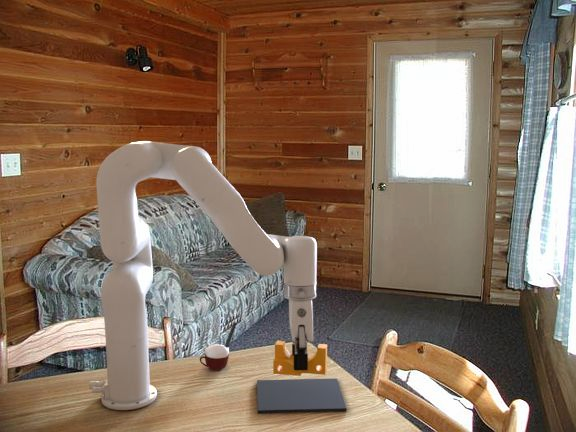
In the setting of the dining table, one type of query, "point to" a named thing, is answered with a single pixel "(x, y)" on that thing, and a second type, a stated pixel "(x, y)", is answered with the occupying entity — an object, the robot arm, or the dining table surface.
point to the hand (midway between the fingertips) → (299, 364)
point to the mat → (299, 396)
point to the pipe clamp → (285, 361)
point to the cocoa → (218, 353)
